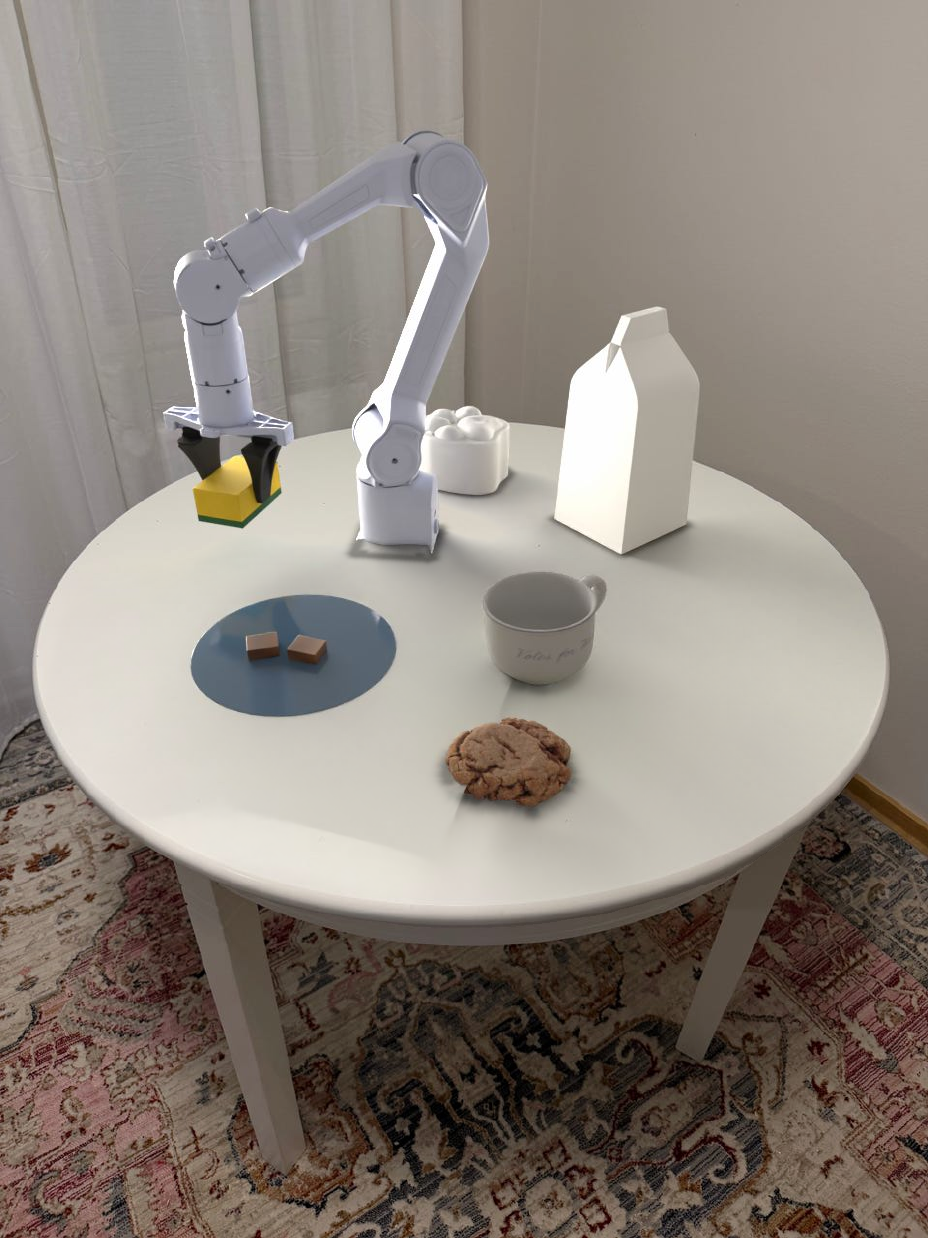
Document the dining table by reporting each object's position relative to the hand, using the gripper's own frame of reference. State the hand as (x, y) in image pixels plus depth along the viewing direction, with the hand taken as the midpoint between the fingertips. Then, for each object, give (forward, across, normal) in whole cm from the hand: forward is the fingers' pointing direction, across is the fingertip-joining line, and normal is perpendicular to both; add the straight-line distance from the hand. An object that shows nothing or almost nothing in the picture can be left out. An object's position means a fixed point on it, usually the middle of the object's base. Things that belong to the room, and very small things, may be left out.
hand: (239, 495), depth 99 cm
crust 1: (+7, +11, -17) cm, 22 cm away
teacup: (+9, +38, -8) cm, 40 cm away
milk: (+9, +40, +23) cm, 47 cm away
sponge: (+1, 0, 0) cm, 1 cm away
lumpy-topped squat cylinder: (+9, +16, +29) cm, 35 cm away
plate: (+8, +14, -16) cm, 23 cm away
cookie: (+9, +38, -24) cm, 46 cm away
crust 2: (+7, +16, -16) cm, 24 cm away
